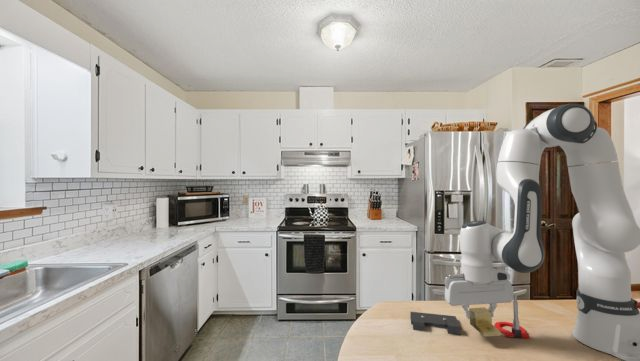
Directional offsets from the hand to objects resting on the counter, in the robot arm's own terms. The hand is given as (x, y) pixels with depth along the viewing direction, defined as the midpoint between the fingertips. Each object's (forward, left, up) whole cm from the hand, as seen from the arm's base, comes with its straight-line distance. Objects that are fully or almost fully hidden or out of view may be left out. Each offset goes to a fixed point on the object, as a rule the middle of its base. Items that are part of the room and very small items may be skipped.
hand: (479, 317), depth 90 cm
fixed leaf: (+13, -3, -5) cm, 14 cm away
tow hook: (-10, -5, -6) cm, 12 cm away
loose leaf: (-1, +2, -3) cm, 4 cm away
